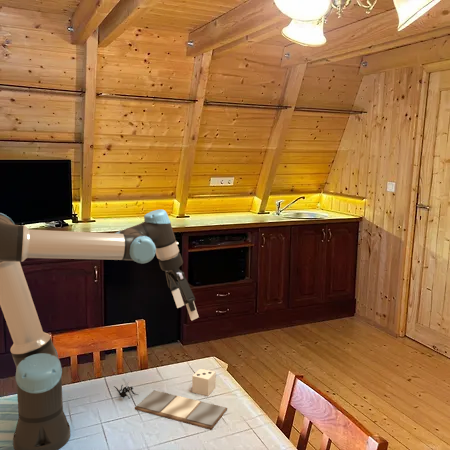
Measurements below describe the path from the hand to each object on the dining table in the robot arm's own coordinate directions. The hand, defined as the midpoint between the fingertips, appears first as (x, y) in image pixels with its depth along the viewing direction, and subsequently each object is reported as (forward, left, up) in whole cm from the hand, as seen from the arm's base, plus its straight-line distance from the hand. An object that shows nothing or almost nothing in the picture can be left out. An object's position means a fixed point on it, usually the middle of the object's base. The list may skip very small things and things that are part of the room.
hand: (187, 312), depth 161 cm
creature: (-16, -14, -28) cm, 34 cm away
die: (+6, 0, -27) cm, 28 cm away
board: (+5, -14, -27) cm, 31 cm away
